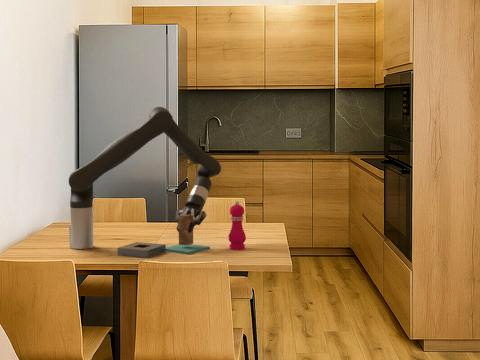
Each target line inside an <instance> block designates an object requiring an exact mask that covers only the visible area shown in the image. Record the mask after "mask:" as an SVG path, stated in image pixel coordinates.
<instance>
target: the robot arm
mask: <svg viewBox="0 0 480 360" xmlns="http://www.w3.org/2000/svg"><path fill="white" fill-rule="evenodd" d="M163 134H165V135H166V136H167V137H168V139H170V140H171V141H172V142H173V143H174V144H175V147H177V148H178V150H179V151H180V152H181V153H182V154H183V155H184V156H185V157H186V158H187V159H188V160H189V161H190V162H191V163H192V164H194V165H199V166H198V168H197V171H196V176H195V177H196V179H195V182H194V184H193V186H192V188H191V190H190V192H189V195H188V197H187V199H186V201H185V205H184V207H183V208H182V209H181V210H179V209H176V210H175V219H174V220H175V221H176V223H177V226H176V228H175V229H176V231H177V233H179V220H178V216H179V215H183V214H187V215H193V216H192V220H191V223H190V225H189V228H188V230H187V231H188V232H189V233H191V232H192V231H193V232H194V228H195V226H200V225H201V224H202V223H203V221H204V219H206V217H207V213H206V212H205V210H203V209H204V207H205V205H206V201H207V199H208V195H209V193H210V191H211V188H212V183H213V182H212V180H211V178H213V177H216V176H217V175H219V174H220V173H221V172H222V166H221V163H220V162H219V161H218V159H216V158H215V157H213V156H212V155H210V154H208V152H206V151H204V150H203V149H202V148H201V147H200V146H199V145H198V144H197V143H196V142H195V141H194V140H193V139H192V138H191V137H190V136H189V135H188V134H186V133H185V132H184V130H182V128H181V127H180V126H179V125H178V124H177V122H176V121H175V120H174V118H173V115H172V114H171V112H170V111H169V110H168V109H167V108H166V107H162V106H155V107H154V108H152V109H151V110H150V112H149V116H148V119H147V121H145V123H143V124H142V125H141V126H140V127H138V128H136V129H134V130H131V131H129V132H127V133H124V134H123V135H121V136H119V137H118V138H116V139H114V141H112V142H111V143H110V144H108V145H107V146H106V147H105V148H103V150H101V152H99V154H98V155H97V156H95V157H94V158H93V159H92V160H91V161H89V162H88V163H86V164H85V165H83V166H81V167H80V168H77V169H75V170H73V171H72V172H71V173H70V175H69V178H68V185H69V187H70V200H69V203H70V205H69V207H70V209H69V210H70V211H69V212H70V224H69V226H68V228H69V229H68V232H69V233H68V234H69V237H68V238H69V248H71V249H74V250H84V249H85V250H86V249H87V250H88V249H92V248H94V246H95V245H94V214H93V213H94V210H93V207H94V204H93V201H94V183H95V182H96V181H97V180H98V179H99V178H101V176H103V175H104V174H105V173H108V172H109V171H111V170H113V169H114V168H116V167H118V166H119V165H122V163H124V162H125V161H127V160H128V159H129V158H131V157H132V156H133V155H134V154H135V153H137V152H138V151H140V150H141V149H142V148H144V146H146V145H147V144H148V143H150V142H151V141H152V140H153V139H155V138H157V137H158V136H159V137H160V135H163Z"/></svg>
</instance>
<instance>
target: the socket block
mask: <svg viewBox="0 0 480 360" xmlns="http://www.w3.org/2000/svg"><path fill="white" fill-rule="evenodd" d="M166 245H167V244H162V243H152V242H151V243H150V242H141V241H140V242H139V241H137V242H136V241H135V242H133V243H129V244H125V245H123V246H120V247H117V256H120V255H121V257H123V256H124V257H131V256H132V258H133V257H134V258H144V259H149V258H152V257H155V256H157V255H160V254H164V253H166V252H167V251H166V247H167V246H166Z"/></svg>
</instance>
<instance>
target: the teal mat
mask: <svg viewBox="0 0 480 360" xmlns="http://www.w3.org/2000/svg"><path fill="white" fill-rule="evenodd" d="M210 249H211V247H210V246H208V245H201V244H200V245H199V244H194V243H193V244H191V245H179V244H174V245H171V246H166V252H169V253H176V254H184V255H192V254H195V253H199V252H204V251H207V250H210Z"/></svg>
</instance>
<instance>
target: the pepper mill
mask: <svg viewBox="0 0 480 360" xmlns="http://www.w3.org/2000/svg"><path fill="white" fill-rule="evenodd" d="M229 214H230V215H231V216H230V220H231V222H232V223H231V229H230V232H229V234H228V241H229V249H230V250H231V251H232V250H234V251H242V250H244V249H246V248H245V241H246V240H247V237H246V236H247V235H246V233H245V230H244V228H243V220H244V214H245V208H244V206H243V205H240V201H239V200H236V201H235V202H234V205H232V206H231V207H230V208H229Z"/></svg>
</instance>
